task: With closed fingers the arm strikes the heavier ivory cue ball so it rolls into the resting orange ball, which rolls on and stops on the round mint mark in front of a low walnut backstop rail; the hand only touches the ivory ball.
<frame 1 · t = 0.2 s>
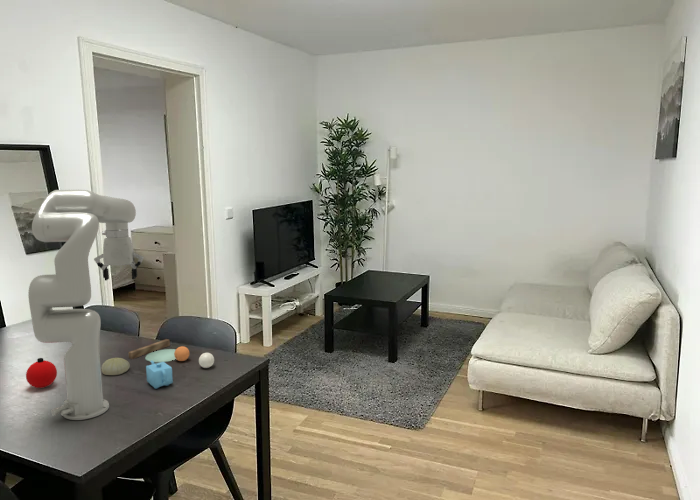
hand: (120, 279, 199), 31 cm above the table, tool pointing down, fingers open, 9 cm apart
sea urchin shell: (115, 372, 191), on the table
cue ball: (206, 360, 194), on the table
ornament: (42, 387, 178), on the table
blue fidget cube: (158, 384, 180), on the table
walnut rail: (150, 351, 211), on the table
mint mark: (164, 355, 207), on the table
orange ball: (181, 353, 201), on the table
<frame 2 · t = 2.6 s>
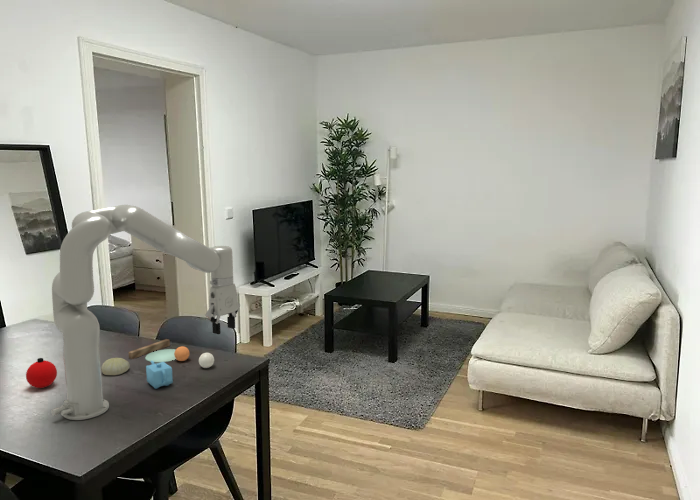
hand: (224, 330, 187), 16 cm above the table, tool pointing down, fingers open, 6 cm apart
nothing on the table moved.
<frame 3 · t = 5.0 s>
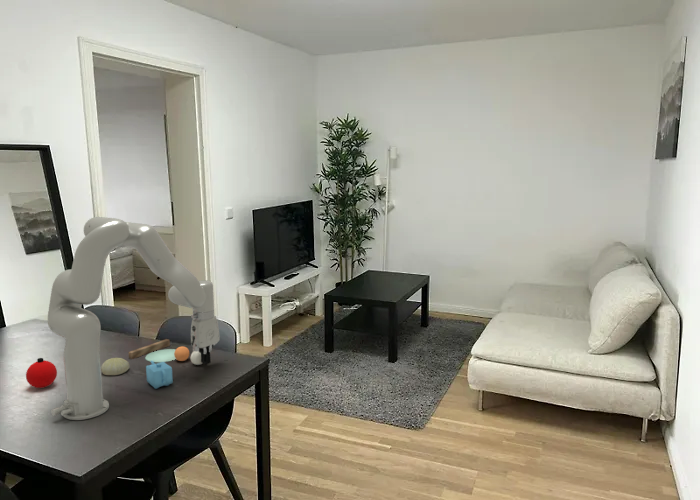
hand: (205, 362, 195), 2 cm above the table, tool pointing down, fingers closed
cue ball: (198, 357, 197), on the table
everything else where it was.
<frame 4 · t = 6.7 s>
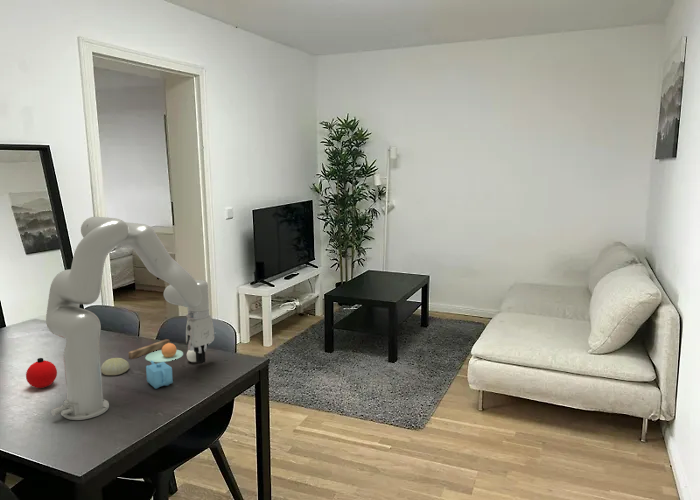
hand: (200, 361, 196), 2 cm above the table, tool pointing down, fingers closed
cue ball: (194, 354, 200), on the table
orange ball: (169, 350, 205), on the table
everything else where it was.
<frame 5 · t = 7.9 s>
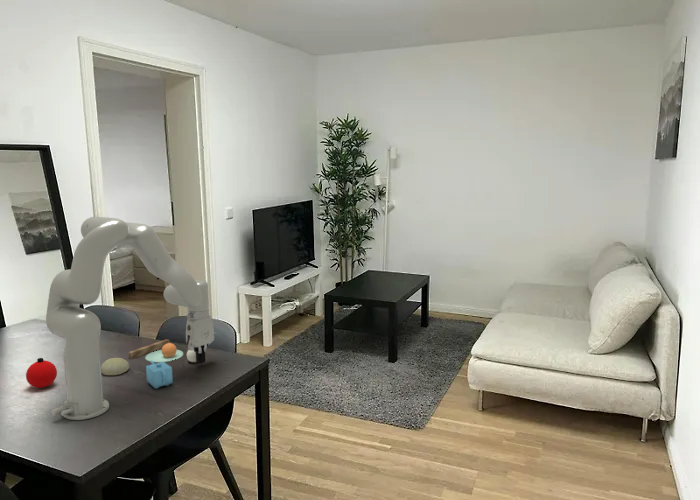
hand: (200, 361, 196), 2 cm above the table, tool pointing down, fingers closed
nothing on the table moved.
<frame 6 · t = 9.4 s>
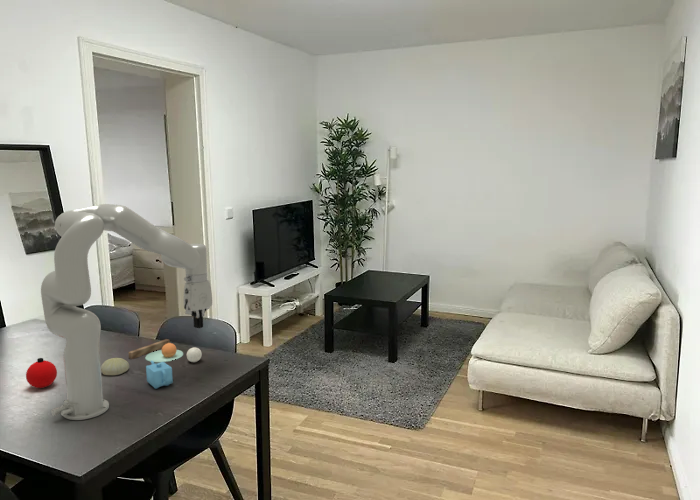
hand: (198, 327, 194), 15 cm above the table, tool pointing down, fingers closed
nothing on the table moved.
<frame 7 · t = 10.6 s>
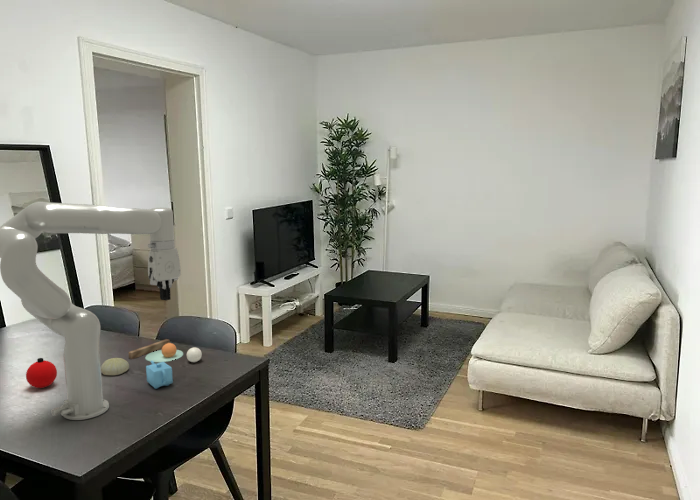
hand: (165, 299, 177), 29 cm above the table, tool pointing down, fingers closed
nothing on the table moved.
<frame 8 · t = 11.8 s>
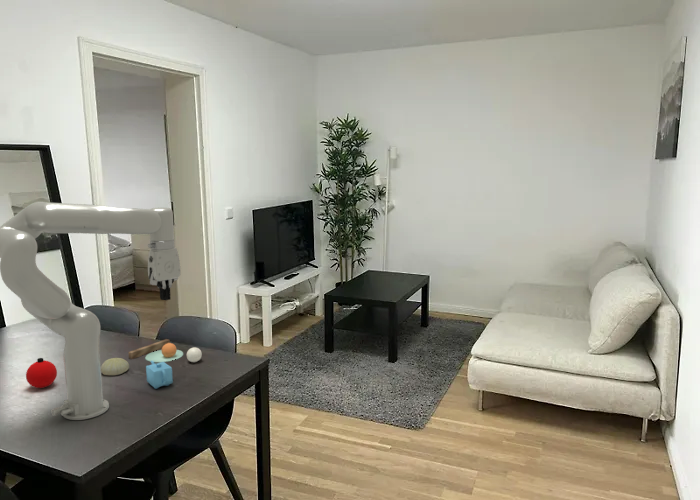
hand: (165, 299, 177), 29 cm above the table, tool pointing down, fingers closed
nothing on the table moved.
at the end: orange ball 2.7 cm from the mint mark (horizontally); orange ball never touched the robot; cue ball first touched orange ball at 5.1 s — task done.
